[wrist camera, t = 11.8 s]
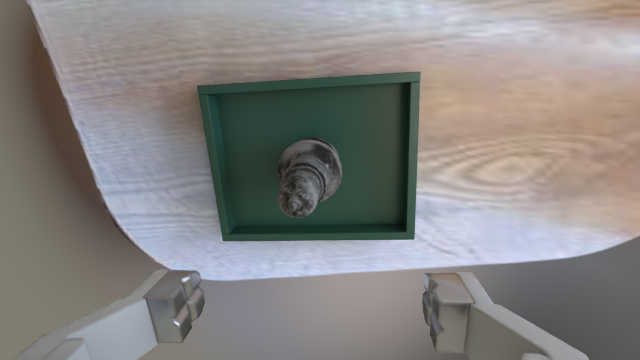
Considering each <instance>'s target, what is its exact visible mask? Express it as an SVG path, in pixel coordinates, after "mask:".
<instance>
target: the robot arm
mask: <svg viewBox="0 0 640 360" xmlns="http://www.w3.org/2000/svg"><path fill="white" fill-rule="evenodd" d="M200 282H201V277H200V273H199V272H197V271H188V270H158V271H155V272H154V273H153V274H152V275H151V276H150V277H148V278H147V279H146V280H145V281H144V282H143V283H142V284H141V285H140V286H139V287H138V288H137V289H136V290H135V291H134V292H133V293H132V294H131V295H129V297H127V298H121V299H119V300H117V301H115V302H113V303H111V304H108V305H106V306H104V307H102V308H100V309H98V310H96V311H93V312H91V313H89V314H87V315H85V316H83V317H81V318H78V319H76V320H74V321H72V322H70V323H68V324H66V325H63V326H61V327H59V328H57V329H55V330H53V331H50V332H48V333H46V334H44V335H42V336H41V337H39V338H38V339H37V340H36V341H34V342H33V343H32V344H31V345H29V346H28V347H27V348H26V349H25V350H24V351H22V352H21V353H20V354H18V355H17V356H16V357H15V358H13V359H12V360H138V359H139V358H141V357H142V356H143V355H145V354H146V353H147V352H148V351H150V350H151V349H152V348H153V347H155V346H156V345H157V344H158V343H182V342H183V341H184V339H185V337H186V336H187V334H188V333H189V331H190V330H191V328H192V326H191V322H193V321H194V320H196V319H197V318H198V317H199V316H200V314H201V312H202V310H203V306H204V291H203V290H202V289H201V288H200V287H199V284H200ZM423 283H424V286H425V289H426V291H425V293H424V294H423V302H422V303H423V313H424V317H425V321H426V323H427V325H429V326H430V336H431V339H432V342H433V345H434V347H435V350H436V352H449V353H464V354H465V356H466V357H467V358H468V359H469V360H589V359H588V357H587V356H586V355H585V354H584V353H582V352H580V351H578V350H576V349H575V348H573V347H571V346H570V345H568V344H566V343H564V342H562V341H561V340H559V339H558V338H556V337H554V336H552V335H551V334H549V333H547V332H545V331H544V330H542V329H540V328H539V327H537V326H535V325H533V324H532V323H530V322H528V321H526V320H525V319H523V318H521V317H520V316H518V315H516V314H514V313H513V312H511V311H509V310H507V309H506V308H504V307H502V306H500V305H495V304H493V302H492V301H491V299H490V298H489V296H488V295H487V293H486V292H485V291H484V289H483V288H482V286H481V285H480V283H479V282H478V280H477V279H476V277H475V276H474V275H473V273H471V272H459V273H425V275H424V282H423Z"/></svg>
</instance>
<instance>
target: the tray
mask: <svg viewBox="0 0 640 360" xmlns="http://www.w3.org/2000/svg"><path fill="white" fill-rule="evenodd" d="M420 73H421V72H406V73H390V74H374V75H359V76H343V77H328V78H312V79H296V80H281V81H265V82H249V83H234V84H218V85H203V86H197V87H198V93H199V99H200V105H201V111H202V117H203V123H204V129H205V135H206V141H207V147H208V153H209V159H210V165H211V171H212V177H213V183H214V189H215V195H216V201H217V207H218V213H219V219H220V225H221V232H222V238H223V241H303V240H408V239H414V235H415V207H416V180H417V153H418V126H419V99H420ZM310 137H316V138H321V139H324V140H326V141H328V142H329V143H330V144H331V145H333V147H334V148H335V149H336V151H337V153H338V156H339V160H340V163H341V165H342V178H341V183H340V185H339V187H338V189H337V190H336V191H335V193H334V194H333V195H332V196H330V197H329V198H327V199H326V200H324V201H321V202H319V203H317V205H316V208H315V209H314V210H313V212H312V213H311V214H309V215H308V216H306V217H303V218H293V217H290V216H288V215H286V214H285V213H284V212H283V211H282V210H281V208H280V207H279V204H278V199H277V196H278V191H279V188H280V186H281V185H280V182H279V180H278V175H277V166H278V161H279V159H280V156H281V155H282V153H283V152H284V151H285V150H286V148H288V147H289V146H290V145H292V144H293V143H296V142H299V141H300V140H303V139H305V138H310Z"/></svg>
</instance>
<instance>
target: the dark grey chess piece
mask: <svg viewBox="0 0 640 360" xmlns="http://www.w3.org/2000/svg"><path fill="white" fill-rule="evenodd" d="M277 175H278V180H279V182H280V185H281V186H280V188H279V191H278V196H277V199H278V204H279V207H280V208H281V210H282V211H283V212H284V213H285V214H286V215H288V216H290V217H293V218H303V217H306V216H308V215H309V214H311V213H312V212H313V210H314V209H315V208H316V205H317V203H319V202H321V201H324V200H326V199H327V198H329V197H330V196H332V195H333V194H334V193H335V191H336V190H337V189H338V187H339V185H340V183H341V178H342V165H341V163H340V160H339V156H338V153H337V151H336V149H335V148H334V147H333V145H331V144H330V143H329V142H328V141H326V140H324V139H321V138H316V137H310V138H305V139H303V140H300V141H299V142H296V143H293V144H292V145H290V146H289V147H288V148H286V150H285V151H284V152H283V153H282V155H281V156H280V159H279V161H278V166H277Z"/></svg>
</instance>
